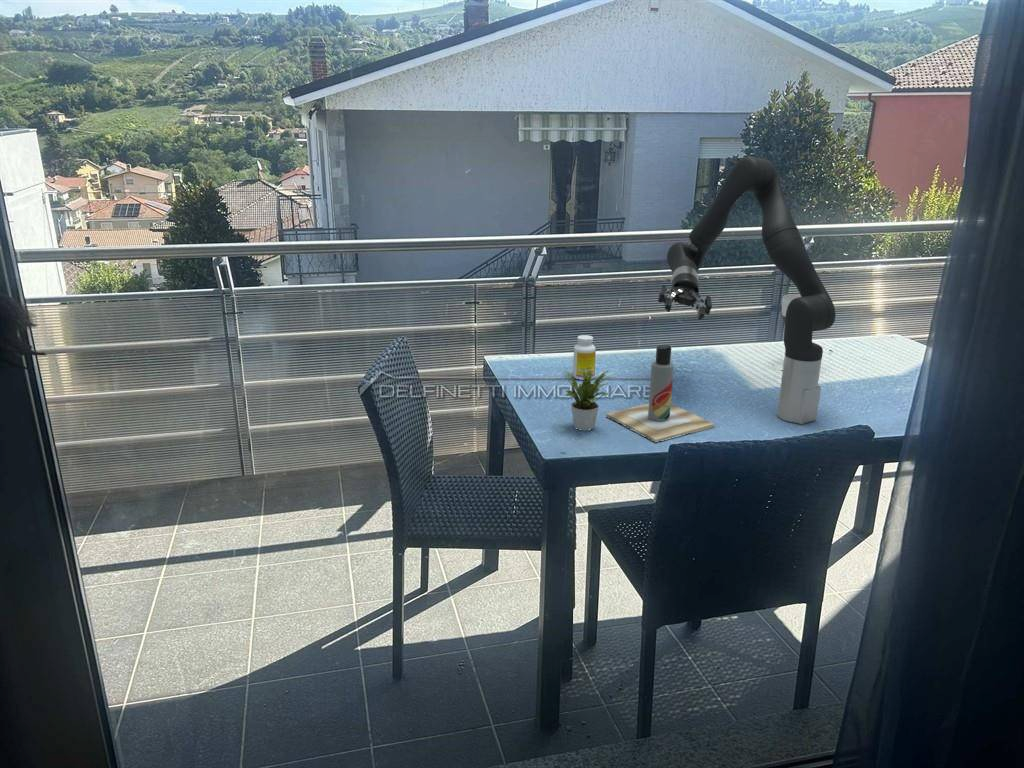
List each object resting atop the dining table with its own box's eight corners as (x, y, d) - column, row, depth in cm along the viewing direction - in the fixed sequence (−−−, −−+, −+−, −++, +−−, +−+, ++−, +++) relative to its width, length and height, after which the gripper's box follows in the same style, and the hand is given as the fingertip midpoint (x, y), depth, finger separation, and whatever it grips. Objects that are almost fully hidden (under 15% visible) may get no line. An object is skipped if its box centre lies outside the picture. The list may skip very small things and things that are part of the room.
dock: (714, 427, 206) (714, 423, 205) (655, 443, 196) (656, 439, 195) (662, 403, 222) (662, 399, 221) (605, 417, 212) (606, 413, 211)
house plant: (623, 436, 200) (627, 375, 194) (572, 442, 196) (574, 380, 190) (602, 416, 212) (604, 358, 207) (553, 421, 209) (555, 362, 203)
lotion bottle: (669, 422, 205) (675, 349, 199) (647, 421, 206) (652, 348, 200) (669, 414, 211) (675, 343, 204) (648, 413, 212) (653, 341, 205)
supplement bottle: (598, 379, 240) (600, 339, 236) (579, 382, 238) (580, 341, 233) (588, 372, 246) (589, 333, 242) (569, 375, 244) (570, 335, 239)
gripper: (664, 266, 220) (663, 294, 207) (714, 278, 219) (716, 307, 206) (656, 289, 224) (654, 318, 211) (705, 301, 224) (706, 331, 211)
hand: (685, 313), depth 209 cm, fingers open, 8 cm apart
